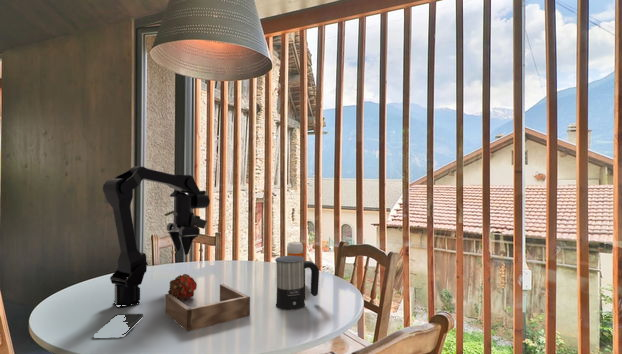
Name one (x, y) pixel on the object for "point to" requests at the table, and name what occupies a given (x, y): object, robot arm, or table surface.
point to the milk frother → (294, 281)
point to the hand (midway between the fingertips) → (182, 252)
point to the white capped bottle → (295, 249)
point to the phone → (131, 319)
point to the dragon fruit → (182, 287)
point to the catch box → (209, 309)
